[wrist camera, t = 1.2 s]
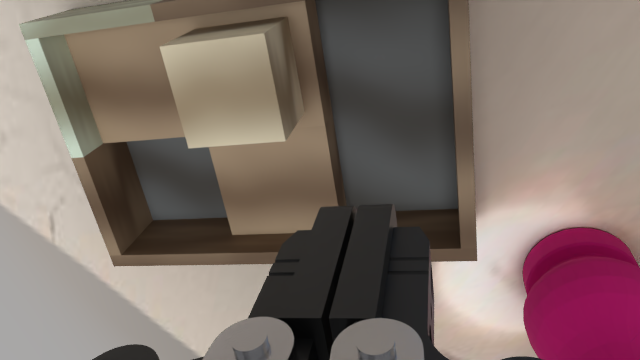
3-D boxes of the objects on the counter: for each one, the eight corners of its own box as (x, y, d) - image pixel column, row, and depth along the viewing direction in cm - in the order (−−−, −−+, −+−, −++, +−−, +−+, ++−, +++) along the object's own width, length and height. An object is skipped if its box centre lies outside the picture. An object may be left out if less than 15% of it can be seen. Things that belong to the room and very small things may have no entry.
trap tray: (72, 9, 31) (18, 24, 27) (462, -51, 25) (466, -44, 21) (148, 228, 37) (113, 266, 33) (472, 217, 32) (477, 260, 28)
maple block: (195, 28, 27) (159, 46, 24) (287, 16, 26) (264, 33, 22) (218, 119, 29) (188, 148, 26) (304, 112, 28) (285, 141, 25)
